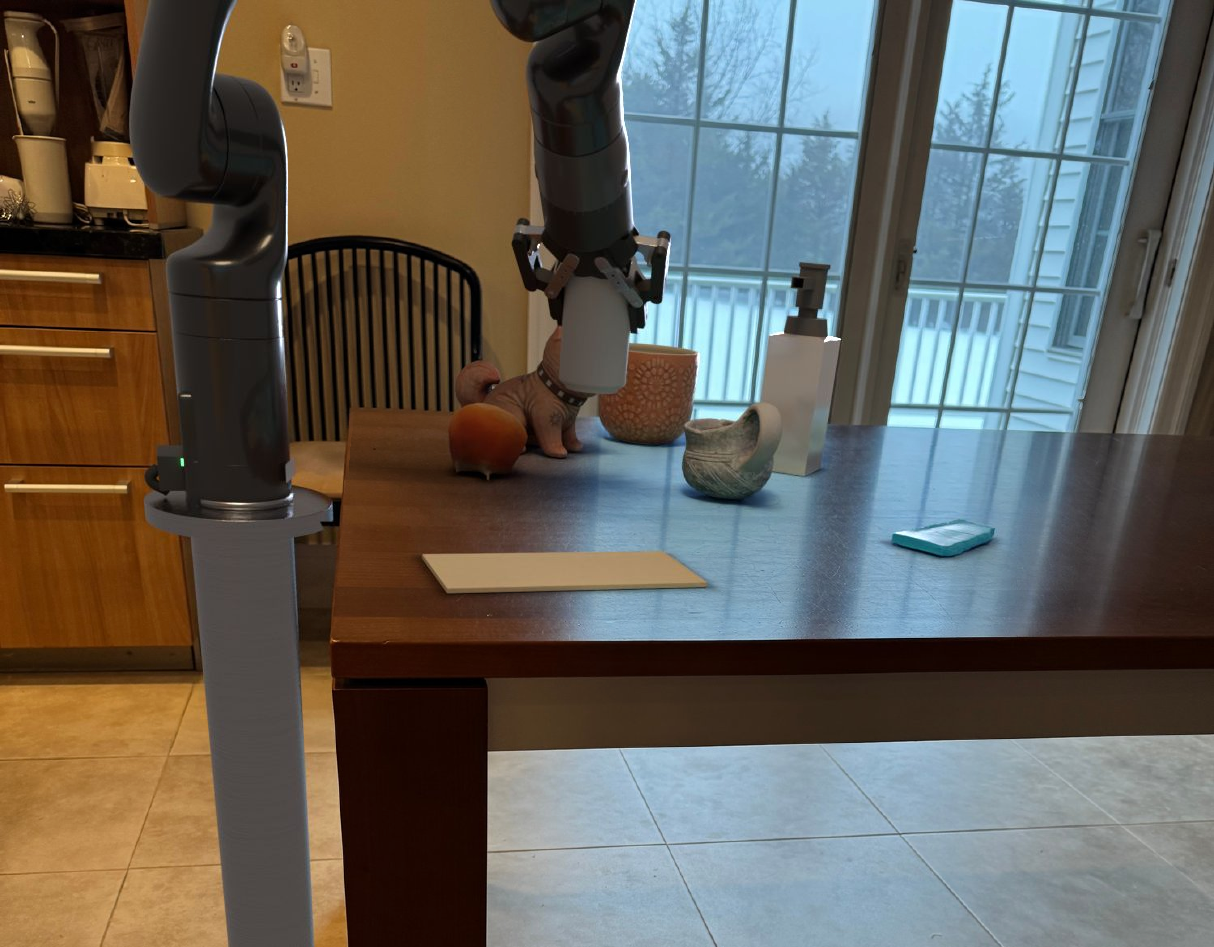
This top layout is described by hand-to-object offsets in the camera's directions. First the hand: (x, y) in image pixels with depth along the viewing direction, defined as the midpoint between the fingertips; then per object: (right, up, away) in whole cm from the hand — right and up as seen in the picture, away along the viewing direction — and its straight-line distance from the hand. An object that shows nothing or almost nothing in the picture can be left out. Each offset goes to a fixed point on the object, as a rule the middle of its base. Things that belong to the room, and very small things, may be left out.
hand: (599, 322), depth 107 cm
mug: (+14, -15, +9) cm, 22 cm away
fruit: (-12, -11, +11) cm, 20 cm away
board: (-3, -28, -20) cm, 35 cm away
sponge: (+33, -21, -2) cm, 39 cm away
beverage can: (-1, -6, +1) cm, 6 cm away
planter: (+5, +1, +38) cm, 38 cm away
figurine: (-8, -4, +26) cm, 27 cm away
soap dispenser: (+22, -6, +27) cm, 35 cm away
